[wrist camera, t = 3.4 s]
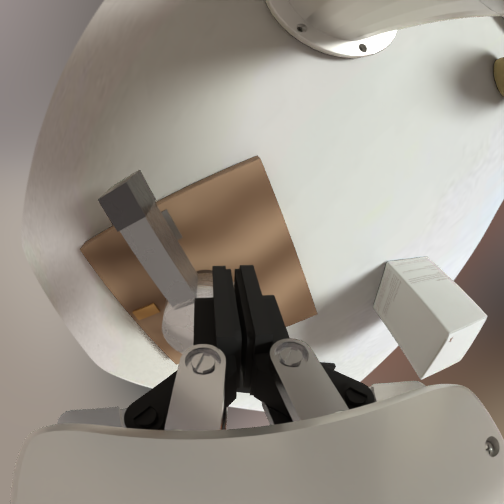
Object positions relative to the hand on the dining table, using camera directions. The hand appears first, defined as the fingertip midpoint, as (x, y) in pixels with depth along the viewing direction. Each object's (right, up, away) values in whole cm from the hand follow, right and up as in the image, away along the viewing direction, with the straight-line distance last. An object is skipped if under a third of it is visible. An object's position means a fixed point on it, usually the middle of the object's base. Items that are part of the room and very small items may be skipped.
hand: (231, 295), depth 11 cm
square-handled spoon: (-5, +1, +9) cm, 11 cm away
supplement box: (+20, -2, +20) cm, 28 cm away
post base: (-4, -1, +15) cm, 16 cm away
